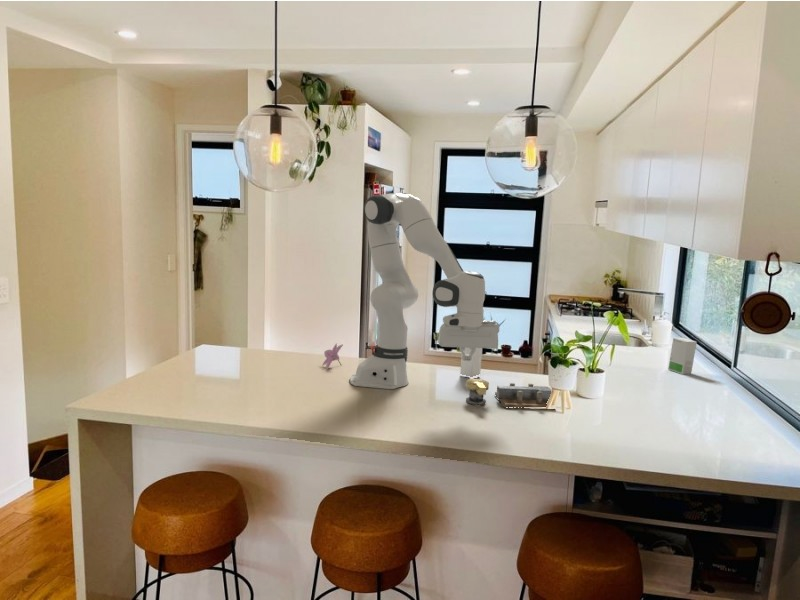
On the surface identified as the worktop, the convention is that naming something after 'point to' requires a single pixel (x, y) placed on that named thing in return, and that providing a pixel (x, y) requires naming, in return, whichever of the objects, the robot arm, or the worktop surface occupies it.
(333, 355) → the lily
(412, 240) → the robot arm
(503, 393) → the grey rectangular bar
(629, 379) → the worktop surface
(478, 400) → the post
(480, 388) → the gold crumpled flat piece
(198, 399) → the worktop surface
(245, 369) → the worktop surface
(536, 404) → the peg rack
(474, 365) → the milk
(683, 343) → the skincare box
